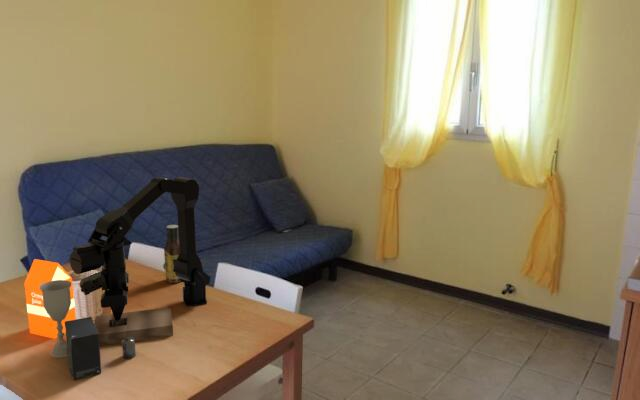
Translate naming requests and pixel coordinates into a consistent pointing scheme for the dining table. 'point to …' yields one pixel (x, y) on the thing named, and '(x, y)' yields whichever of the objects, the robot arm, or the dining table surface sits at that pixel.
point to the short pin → (128, 347)
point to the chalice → (57, 309)
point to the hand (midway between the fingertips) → (117, 317)
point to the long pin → (117, 323)
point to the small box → (82, 348)
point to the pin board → (135, 326)
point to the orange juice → (35, 307)
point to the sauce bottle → (171, 253)
